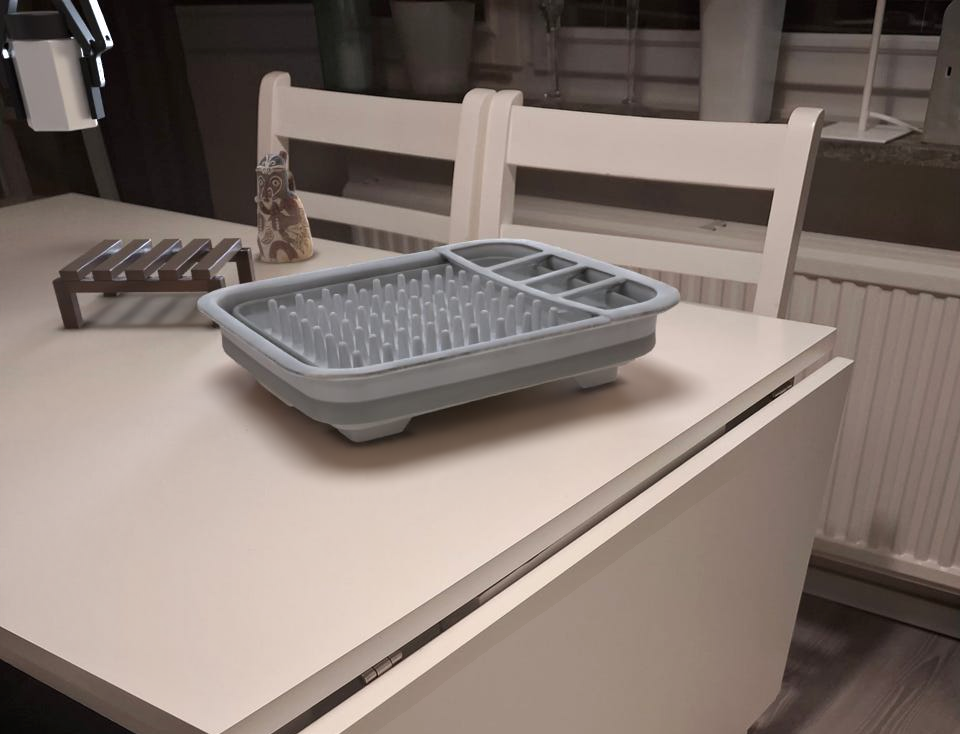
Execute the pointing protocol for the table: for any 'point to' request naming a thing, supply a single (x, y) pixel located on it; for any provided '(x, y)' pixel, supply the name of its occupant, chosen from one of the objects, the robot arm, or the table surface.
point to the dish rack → (436, 329)
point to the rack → (148, 270)
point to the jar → (48, 71)
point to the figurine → (280, 214)
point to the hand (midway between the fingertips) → (61, 118)
